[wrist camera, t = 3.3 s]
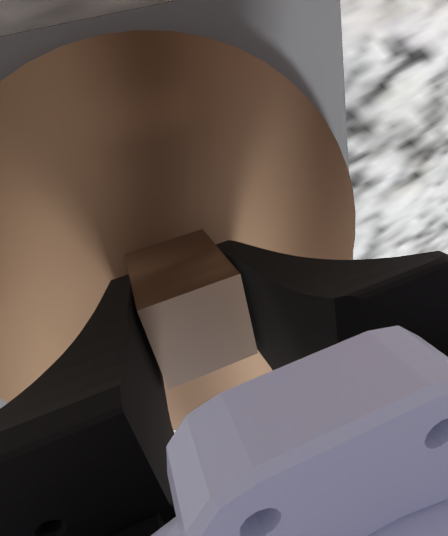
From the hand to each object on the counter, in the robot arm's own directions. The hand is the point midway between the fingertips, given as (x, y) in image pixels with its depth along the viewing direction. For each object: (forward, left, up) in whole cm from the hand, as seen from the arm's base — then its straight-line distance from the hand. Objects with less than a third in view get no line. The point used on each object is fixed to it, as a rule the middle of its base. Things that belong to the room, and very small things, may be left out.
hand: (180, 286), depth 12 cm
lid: (0, 0, -2) cm, 2 cm away
